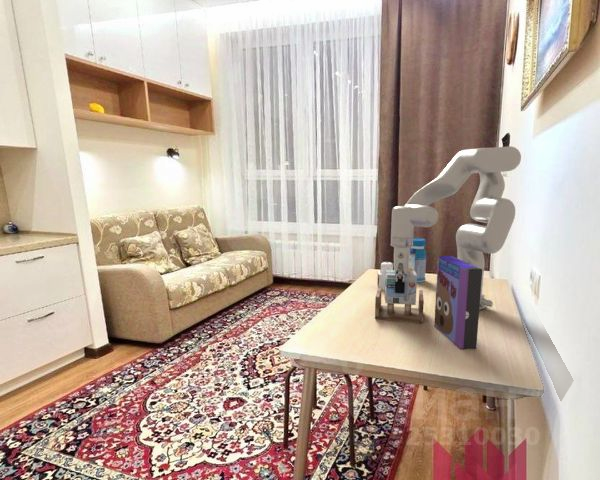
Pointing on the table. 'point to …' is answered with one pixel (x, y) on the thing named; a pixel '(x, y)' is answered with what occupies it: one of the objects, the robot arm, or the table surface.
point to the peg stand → (399, 310)
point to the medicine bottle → (384, 273)
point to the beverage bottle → (418, 258)
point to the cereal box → (458, 301)
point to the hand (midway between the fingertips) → (399, 288)
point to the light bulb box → (409, 291)
